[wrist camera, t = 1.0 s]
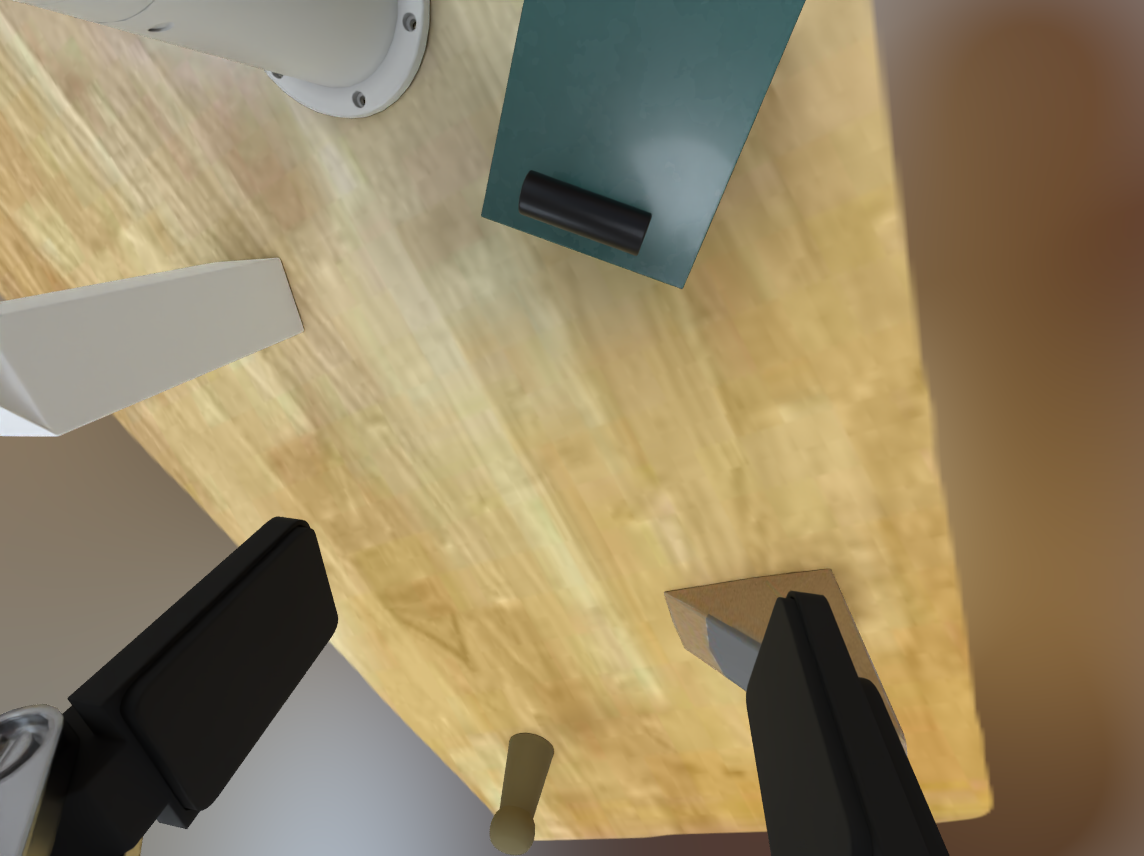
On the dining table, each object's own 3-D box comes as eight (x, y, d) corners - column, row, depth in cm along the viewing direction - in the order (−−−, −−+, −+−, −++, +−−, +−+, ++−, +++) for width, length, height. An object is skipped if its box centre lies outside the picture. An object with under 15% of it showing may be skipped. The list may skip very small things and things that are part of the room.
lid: (681, 286, 26) (686, 310, 21) (485, 215, 26) (445, 223, 21) (832, -70, 19) (890, -153, 14) (563, -168, 19) (530, -285, 14)
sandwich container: (661, 590, 47) (661, 749, 34) (830, 565, 42) (907, 739, 29) (683, 649, 50) (691, 816, 37) (843, 633, 46) (917, 816, 33)
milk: (306, 331, 40) (-18, 474, 21) (243, 333, 41) (-119, 472, 22) (280, 254, 37) (-120, 339, 18) (214, 259, 39) (-230, 344, 19)
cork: (563, 753, 63) (545, 857, 53) (531, 765, 65) (509, 866, 56) (531, 728, 61) (507, 830, 52) (500, 741, 64) (471, 841, 54)
